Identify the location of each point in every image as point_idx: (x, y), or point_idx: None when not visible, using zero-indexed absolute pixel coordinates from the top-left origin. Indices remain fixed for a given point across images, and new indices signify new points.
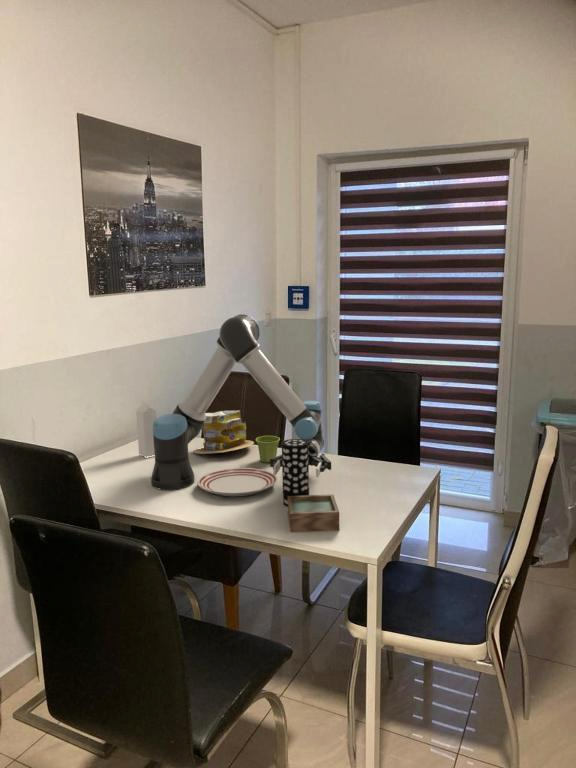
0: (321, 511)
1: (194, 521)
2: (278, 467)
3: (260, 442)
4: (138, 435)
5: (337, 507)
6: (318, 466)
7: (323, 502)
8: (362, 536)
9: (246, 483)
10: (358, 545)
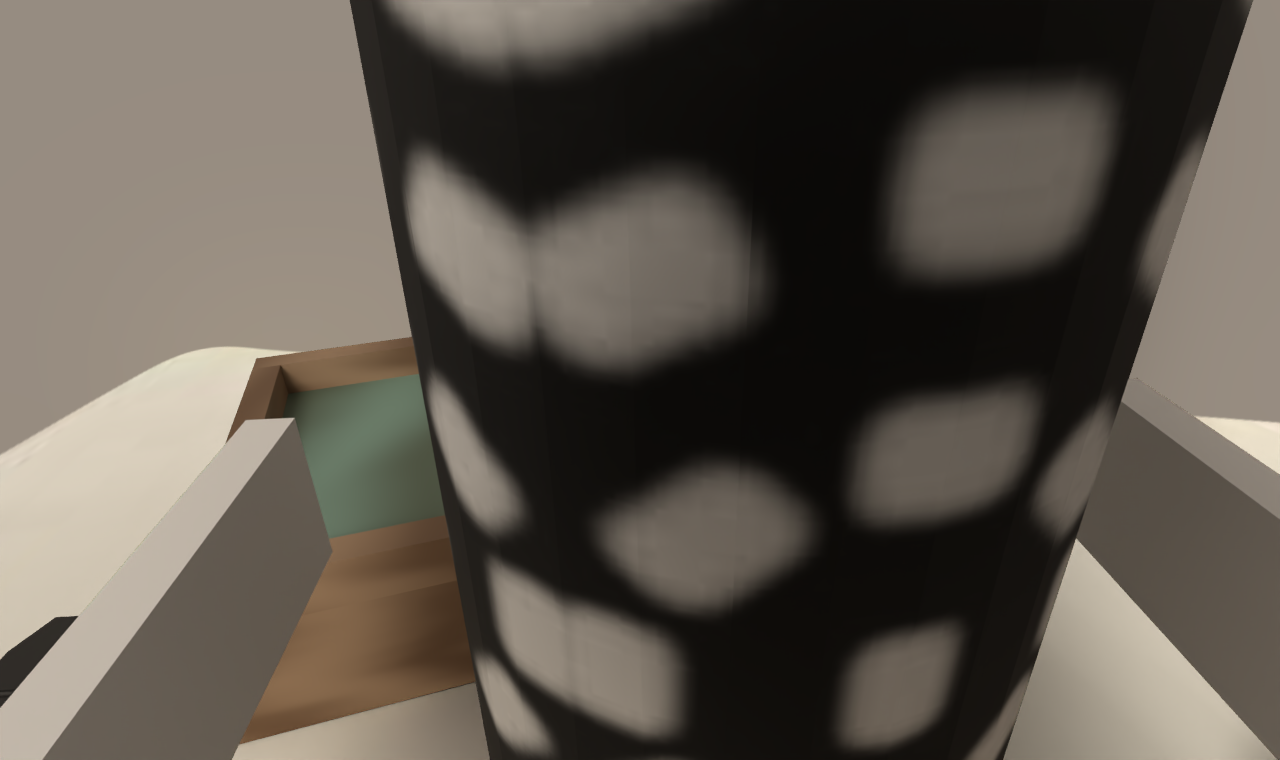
0: (384, 349)
1: (1231, 420)
2: (1261, 638)
3: None
4: None
5: (245, 396)
6: (192, 511)
7: (336, 531)
8: (168, 441)
9: None
10: (235, 383)
